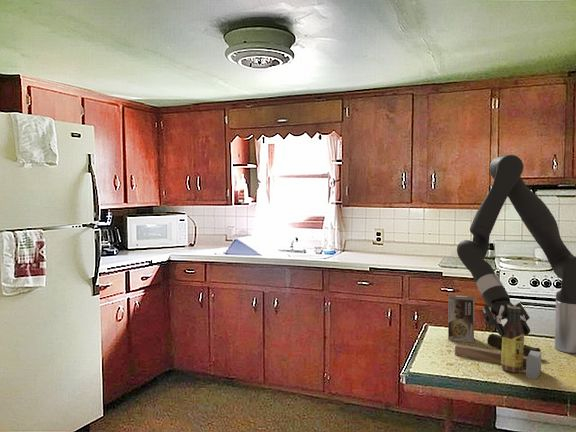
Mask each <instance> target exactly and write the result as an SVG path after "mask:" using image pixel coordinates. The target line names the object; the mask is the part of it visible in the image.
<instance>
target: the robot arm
mask: <svg viewBox="0 0 576 432" xmlns="http://www.w3.org/2000/svg"><path fill="white" fill-rule="evenodd" d="M523 171H524V163H523V161H522V159H521V158H520V157H518V156H517V155H515V154H506V155H505V154H504V155H500V156H497V157H495V158H494V159H492V160H491V162H490V164H489V173H490V175H491V178H492V179H493V183H492V186H491V188H490V190H489V191H488V194H486V196H485V198H484V199H483V202H482V203H481V204H480V205H479V207H478V209H477V211H476V213H475V215H474V217H473V220H472V221H471V225H470V227H469V232H470V233H471V234H472V240H468V239H464V240H461V241H459V243H458V245H457V247H456V253H457V257H458V258H459V261H461V262H462V264H463V265H464V267H466V269H467V270H468V271H469V272H470V273H471V275H472V278H473V280H474V282H475V284H476V286H477V289H478V291H479V294H480V296H481V297H482V299H483V301H484V303H485V304H486V305H485V306H484V307H483V308H482V309H481V313H482V314H483V317H484V320H485V322H486V323H487V324H486V325H488V326H489V327H490V326H492V327H495V329H496V331H497V333H498V335H499V336H501V337H505V336H506V335H507V333H506V331H505V329H504V327H503V326H504V325H503V324H502V321H503V320H507V315H508V312H507V307H508V306H515V307H520V308H521V313H520V320H521V321H520V322H521V325H522V328H523V331H524V336H527V335H528V336H529V334H530V333H531V328H530V326H529V325H528V323H527V321H528V320H529V319H530V316H529V314H528V312H527V311H526V310H525V308H524V306H523V304H522V303H521V302H518V303H517V304H513V303H512V302H511V297H510V295H509V294H508V291H507V289H506V288H505V286H504V285H503V283H502V281H501V279H500V278H499V277H498V276H497V274H496V273H495V270H494V269H493V267H492V265H491V264H490V262H488V261H486V260H485V258H486V256H487V254H488V249H489V246H490V245H489V244H490V237H491V233H492V231H493V229H494V226H495V225H496V222H497V220H498V217H499V215H500V213H501V210H502V208H503V206H504V204H505V202H506V200H507V199H509V201H510V203H511V204H512V206H513V209H515V211H516V213H517V214H518V216H519V217H520V219H521V221H522V222H523V225H524V226H525V227H526V229H527V230H528V232H529V233H530V235H531V236H532V237H533V239H534V241H535V242H536V243H537V244H538V245H539V247H540V249H541V250H542V251H543V253H544V255H545V256H546V259H547V261H548V263H549V265H550V267H551V268H552V271H553V273H554V274H555V276H557V277H558V278H559V279H561V288H560V290H558V291H557V292H556V293H555V294H556V295H555V326H554V328H555V329H554V333H555V334H554V348H555V349H556V350H557V351H559V352H562V353H568V354H576V256H575V255H574V254H573V253H572V252H571V251H570V250H569V248H567V245H565V243H564V241H563V240H562V238H561V235H560V231H559V230H560V229H559V227H558V226H559V225H558V223H557V221H556V219H555V217H554V215H553V213H552V212H551V210H550V209H549V207H548V206H547V205H546V203H545V202H544V201H543V200H542V199H541V198H540V197H539V196H538V195H537V194H535V192H533V191H532V190H531V189H530V188H529V187H528V186H527V185H526V183H525V181H524V180H523V178H522V177H521V175H522V174H523ZM493 315H494V316H493Z"/></svg>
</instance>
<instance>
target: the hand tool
mask: <svg viewBox="0 0 576 432" xmlns="http://www.w3.org/2000/svg"><path fill="white" fill-rule="evenodd" d="M487 344H488V345H489V346H491V347H493V348H495V349H498V350H502V337H501V336H500V335H499V334H496V333H490V334H489V335H488V337H487ZM530 351H537V352H541V349H540V348H539V347H533V346H530V345H527V344H524V351H523V356H528V355H529V353H530ZM541 353H542V352H541Z"/></svg>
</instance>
